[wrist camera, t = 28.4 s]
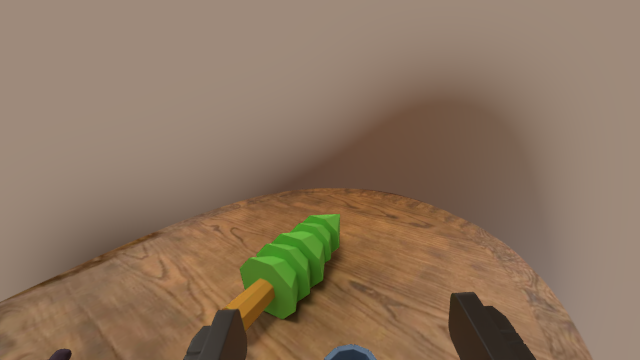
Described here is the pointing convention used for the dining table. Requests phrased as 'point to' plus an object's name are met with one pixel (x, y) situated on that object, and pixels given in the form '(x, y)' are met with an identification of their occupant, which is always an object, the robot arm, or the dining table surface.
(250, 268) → the decorative tree
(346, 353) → the sleeve
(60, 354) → the figurine
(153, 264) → the dining table surface
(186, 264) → the dining table surface
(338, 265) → the dining table surface
